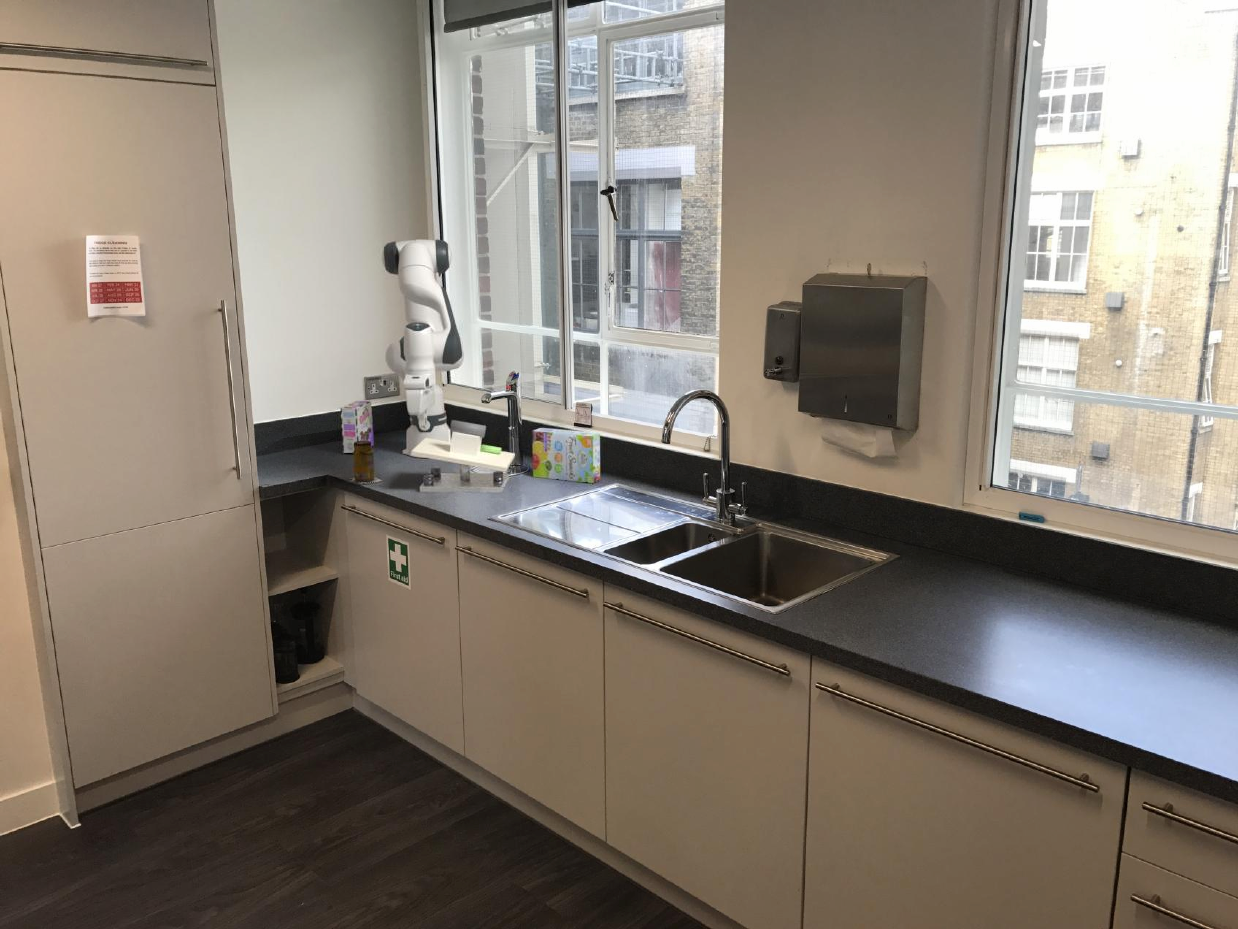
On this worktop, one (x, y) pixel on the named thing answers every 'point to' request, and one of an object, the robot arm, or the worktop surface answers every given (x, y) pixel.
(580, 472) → the snack box
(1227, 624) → the worktop surface
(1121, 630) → the worktop surface
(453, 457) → the plate
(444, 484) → the bolted base plate
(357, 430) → the candy box
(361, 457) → the condiment
